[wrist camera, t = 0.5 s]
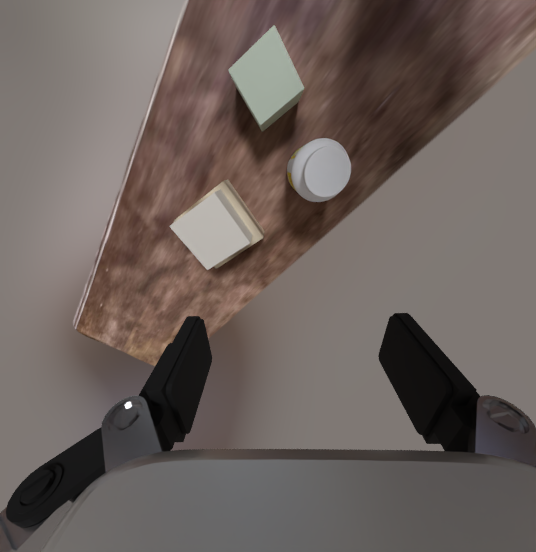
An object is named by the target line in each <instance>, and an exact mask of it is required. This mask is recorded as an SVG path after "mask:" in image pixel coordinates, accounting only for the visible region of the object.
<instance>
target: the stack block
mask: <svg viewBox="0 0 536 552" xmlns="http://www.w3.org/2000/svg"><path fill="white" fill-rule="evenodd" d="M228 71H229V73H230V75H231V77H232V79H233V82H234V84H235V86H236V88H237V90H238V91H239V93H240V95H241V96H242V98H243V100H244V102H245V103H246V105H247V107H248V108H249V110H250V112H251V114H252V115H253V117H254V119H255V121H256V122H257V124H258V126H259V127H260V129H261V131H262V132H263V131H264V130H265V129H267V128H268V127H269V126H270V125H271V124H273V123H274V122H275V121H276V120H277V119H279V118H280V117H281V116H282V115H283V114H285V113H286V112H287V111H288V110H289V109H291V108H292V107H293V106H294V105H296V104H297V103H298V102H299V100H300V97H301V95H302V93H303V90H304V86H303V84H302V82H301V80H300V78H299V76H298V74H297V72H296V69H295V67H294V65H293V63H292V61H291V59H290V57H289V55H288V52H287V50H286V48H285V46H284V44H283V42H282V40H281V38H280V36H279V33H278V31H277V29H276V27H275V25H274V26H273V27H272V28H271V29H270V30H269V31H268V32H266V33H265V34H264V35H263V36H262V37H261V38H260V39H259V40H258V41H257V42H256V43H255V44H254V45H253V46H252V47H251V48H250V49H249V50H248V51H247V52H246V53H245V54H244V55H243V56H242V57H241V58H240V59H239V60H238V61H237V62H236V63H235V64H234V65H233V66H232V67H231V68H230V69H229V70H228Z"/></svg>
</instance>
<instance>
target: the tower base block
mask: <svg viewBox="0 0 536 552" xmlns="http://www.w3.org/2000/svg"><path fill="white" fill-rule="evenodd" d="M220 189H221V190H222V192H223V193H224V194H225V196H226V197H227V199H228V200H229V202H230V203H231V204H232V206H233V207H234V209H235V210H236V212H237V213H238V214H239V216H240V217H241V219H242V220H243V222H244V223H245V224H246V226H247V227H248V229H249V230H250V232H251V233H252V239H251V242H250V244H248V245H246V246H245V247H243V248H242V249H240V250H238V251H237V252H235V253H234V254H232V255H231V256H229V257H227V258H226V259H224V260H223V261H221V262H219V263H218V264H216V265H215V266H214V267H215V268H216V269H217V268H219V267H220V266H222V265H223V264H225V263H226V262H228V261H229V260H231V259H232V258H234V257H235V256H237V255H238V254H240V253H241V252H243V251H244V250H246V249H247V248H249V247H250V246H252V245H253V244H255V243H256V242H258V241H259V240H261V239H262V238H264V230H263V229H262V227H261V226H260V224H259V223H258V221H257V220H256V219H255V217H254V216H253V214H252V213H251V211H250V210H249V209H248V207H247V206H246V204H245V203H244V202H243V200H242V199H241V197H240V196H239V194H238V193H237V192H236V190H235V189H234V187H233V186H232V184H231V183H230V182H229V180H225V181H223V182H221V183H220V184H219V185H218V186H216V187H215V188H214V189H213V190H211V191H210V192H209V193H208V194H207V195H205V196H204V197H203V198H202V199H200V200H199V201H198V202H197V203H195V204H194V205H193V206H192V207H190V208H189V209H188V210H187V211H185V212H184V213H183V214H182V215H180V216H179V217H178V218H177V219H175V220H174V222H176V221H177V220H178V219H180V218H181V217H182V216H184V215H185V214H186V213H188V212H189V211H190V210H192V209H193V208H194V207H196V206H197V205H198V204H200V203H201V202H202V201H204V200H205V199H206V198H208V197H209V196H210V195H212V194H213V193H214V192H216V191H218V190H220Z"/></svg>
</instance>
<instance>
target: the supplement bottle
mask: <svg viewBox="0 0 536 552" xmlns="http://www.w3.org/2000/svg"><path fill="white" fill-rule="evenodd" d="M350 174H351V163H350V160H349V157H348V154H347V152H346V150H345V149H344V148H343V146H342V145H341V144H339V143H338V142H337V141H335V140H332V139H328V138H320V139H315V140H313V141H311V142H309V143H307V144H306V145H304V146H302V147H301V148H299V149H298V150H297V151H296V152H295V153H294V154H293V155H292V156H291V158H290V160H289V162H288V166H287V177H288V181H289V183H290V185H291V186H292V187H293V189H294V190H295V191H296V192H297V193H298V194H299V195H300V196H301V197H303V198H304V199H306V200H308V201H312V202H323V201H327V200H329V199H331V198H333V197H335V196H336V195H337V194H338V193H339V192H340V191H341V190H343V188H344V187H345V186H346V184H347V183H348V181H349V178H350Z"/></svg>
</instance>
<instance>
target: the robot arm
mask: <svg viewBox="0 0 536 552" xmlns="http://www.w3.org/2000/svg"><path fill="white" fill-rule="evenodd" d="M379 361H380V363H381V365H382V367H383V369H384V371H385V373H386V374H387V376H388V378H389V380H390V382H391V384H392V385H393V387H394V389H395V391H396V393H397V395H398V397H399V399H400V401H401V403H402V405H403V406H404V408H405V410H406V412H407V414H408V416H409V418H410V420H411V421H412V423H413V425H414V427H415V429H416V431H417V432H418V433H419V434H420V435H422V436H423V438H424V439H425V441H426V443H427V444H441V445H442V447H443V449H444V450H445V451H412V450H411V451H410V450H409V451H408V450H329V449H328V450H326V449H324V450H323V449H318V450H317V449H200V450H199V449H198V450H176V451H170V450H171V449H172V448H173V445H174V442H183V441H184V438H185V435H186V434H188V433H190V430H191V428H192V424H193V421H194V418H195V415H196V411H197V408H198V405H199V402H200V398H201V395H202V392H203V389H204V385H205V382H206V379H207V376H208V372H209V369H210V366H211V362H212V355H211V350H210V346H209V341H208V337H207V332H206V328H205V324H204V320H203V319H200V317H199V316H188V317H187V318H186V319H185V321H184V323H183V325H182V326H181V328H180V330H179V332H178V334H177V335H176V337H175V339H174V341H173V343H170V344H168V346H167V347H166V349H165V351H164V352H163V354H162V356H161V357H160V359H159V361H158V363H157V364H156V366H155V368H154V370H153V372H152V373H151V375H150V377H149V378H148V380H147V382H146V384H145V386H144V387H143V389H142V391H141V393H140V394H139V396H131V397H127V398H125V399H123V400H121V401H120V402H118V403H117V404H115V405H114V406H113V407H112V408H111V409H110V410H109V411H108V413H107V414H106V415H105V417H104V419H103V421H102V427H101V428H99V429H97V430H96V431H94V432H93V433H91V434H90V435H88V436H87V437H85V438H84V439H82V440H81V441H79V442H77V443H76V444H74V445H73V446H71V447H70V448H68V449H67V450H65V451H64V452H62V453H61V454H59V455H57V456H56V457H55V458H53V459H51V460H50V461H48V462H47V463H45V464H44V465H42V466H40V467H39V468H38V469H36V470H35V471H34V472H32V473H31V474H30V475H29V476H28V477H27V478H26V479H25V480H24V481H23V482H22V483H21V484H20V485H19V487H18V488H17V489H16V490H15V492H14V493H13V495H12V497H11V499H10V500H9V502H8V505H7V507H6V508H5V509H4V510H3V511H2V512H1V513H0V552H536V427H535V425H534V423H533V422H532V421H531V419H530V418H529V417H528V416H527V415H526V414H525V413H524V412H523V411H521V410H520V409H519V408H517V407H516V406H514V405H513V404H511V403H509V402H508V401H506V400H504V399H501V398H498V397H495V396H490V395H484V396H479V394H478V393H477V392H476V389H475V388H474V387H473V385H472V384H471V383H470V382H469V381H468V380H467V379H466V378H465V376H464V375H463V374H462V373H461V372H460V371H459V370H458V368H457V367H456V366H455V365H454V364H453V363H452V362H451V361H450V359H449V358H448V357H447V356H446V355H445V354H444V353H443V352H442V351H441V349H440V348H439V347H438V346H437V345H436V344H435V343H434V341H432V339H431V338H430V337H429V336H428V335H427V334H426V333H425V332H424V330H423V329H422V328H421V327H420V326H419V325H418V324H417V322H416V321H415V320H414V319H413V318H412V317H411V316H410V315H409V314H408V313H395V314H394V315H393V316H391V317H390V318H389V321H388V325H387V328H386V331H385V335H384V338H383V342H382V345H381V348H380V352H379Z"/></svg>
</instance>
